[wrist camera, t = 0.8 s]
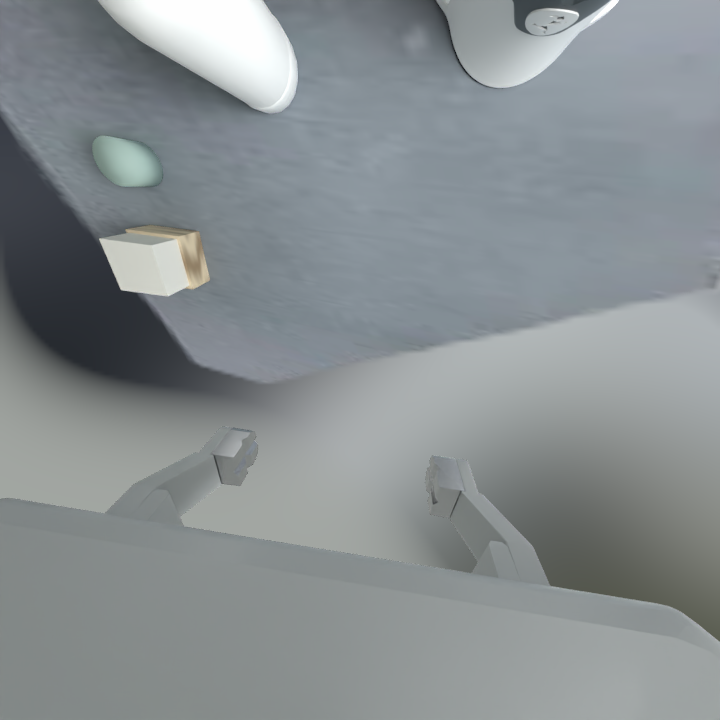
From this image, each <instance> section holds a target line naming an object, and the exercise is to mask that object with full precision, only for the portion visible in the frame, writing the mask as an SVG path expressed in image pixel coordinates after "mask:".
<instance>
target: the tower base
mask: <svg viewBox="0 0 720 720" xmlns="http://www.w3.org/2000/svg"><path fill="white" fill-rule="evenodd" d="M125 230H126V232H127V233H136V234H143V235H151V236H158V237H165V238H173V239H177V242H178V245H179V249H180V253H181V256H182V260H183V264H184V267H185V271H186V275H187V278H188V282H189V286H188V287H186V288H187V289H195V288H197V287H199V286H200V285H202V284H204V283H206V282H208V281H210V278H209V274H208V269H207V265H206V261H205V256H204V252H203V247H202V243H201V239H200V234H199V231H192V230H185V229H177V228H170V227H162V226H155V225H147V226H141V227H135V228H129V229H125Z"/></svg>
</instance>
